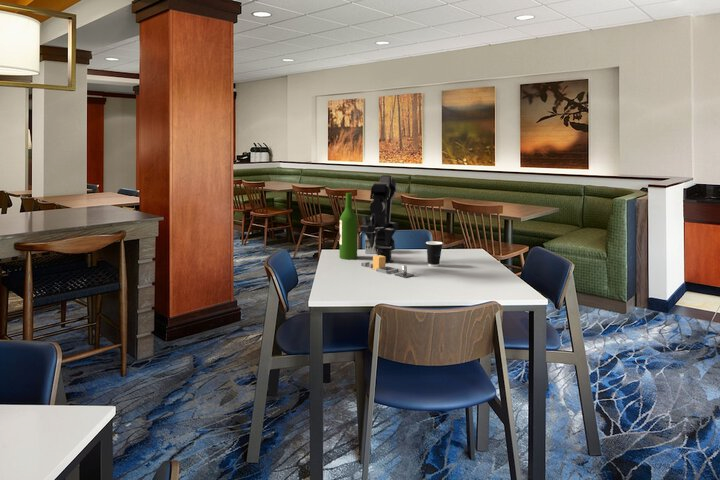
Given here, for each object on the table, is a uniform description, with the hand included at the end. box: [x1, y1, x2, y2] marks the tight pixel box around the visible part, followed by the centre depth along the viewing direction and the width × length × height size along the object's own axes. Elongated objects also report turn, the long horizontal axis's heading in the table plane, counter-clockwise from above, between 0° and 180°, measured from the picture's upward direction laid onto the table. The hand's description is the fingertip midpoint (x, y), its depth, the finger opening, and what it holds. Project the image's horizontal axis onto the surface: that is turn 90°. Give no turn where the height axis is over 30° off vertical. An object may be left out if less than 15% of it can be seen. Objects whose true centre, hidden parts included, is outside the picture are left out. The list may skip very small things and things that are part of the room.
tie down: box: [361, 254, 400, 275], centre depth 236 cm, size 20×7×6 cm, turn 41°
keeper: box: [394, 264, 415, 279], centre depth 223 cm, size 6×6×5 cm
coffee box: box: [364, 229, 380, 255], centre depth 276 cm, size 9×6×16 cm
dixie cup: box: [425, 240, 444, 268], centre depth 244 cm, size 8×8×11 cm
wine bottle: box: [338, 192, 359, 260], centre depth 258 cm, size 9×9×32 cm
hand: (379, 246), depth 234 cm, fingers open, 9 cm apart
